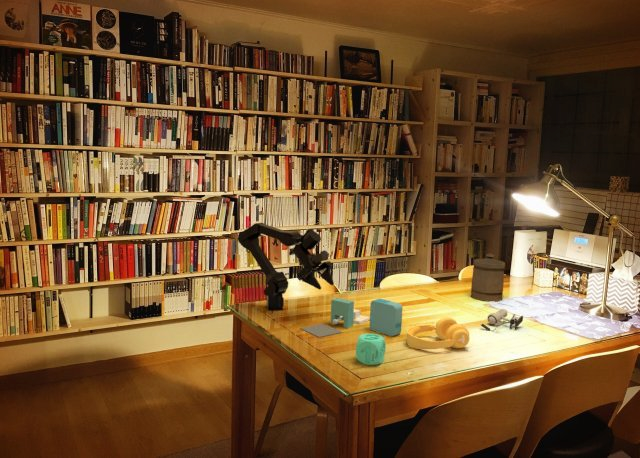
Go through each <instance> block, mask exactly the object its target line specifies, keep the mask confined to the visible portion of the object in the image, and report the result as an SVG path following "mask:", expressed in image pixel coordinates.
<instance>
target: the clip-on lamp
mask: <svg viewBox="0 0 640 458" xmlns="http://www.w3.org/2000/svg"><path fill="white" fill-rule="evenodd" d="M506 317H507V318H506ZM523 321H524V315H521V316H518V317H517V316H516V314H515V313H513V315H512V317H511V318H508V311H507V309H504V308H501V309H499V310H498V311H496V312H492V313H490V314H488V316H487V322H488V323H489V324H490V325H491V326H495V327H499V326H501V325H503V323H505V324H509V330H511V329H512V327H513V325H514V331H516V330H517V329H518V327H519V326H520V324H521V323H523ZM479 325H480V326H481V327H482V328H484V329H485V330H486V331H488V332H494V331H495V329H493V330H492V329H491V328H490V327H489V326H487V325H486V324H484V323H481V322H480V323H479Z"/></svg>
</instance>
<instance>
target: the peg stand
mask: <svg viewBox="0 0 640 458" xmlns="http://www.w3.org/2000/svg"><path fill="white" fill-rule="evenodd" d="M361 312H362V310H361V309H356V308H354V313H353V324H358V325H361V324H363V323H366V322H368V321H370V316H367V315H362V314H361ZM342 321H344V317H342V316H340V318H339V319H334V320H333V324H336V325H338V324H339V323H338V322H340V323H341V322H342ZM337 323H338V324H337Z"/></svg>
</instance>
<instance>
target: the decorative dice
mask: <svg viewBox="0 0 640 458" xmlns="http://www.w3.org/2000/svg"><path fill="white" fill-rule="evenodd" d="M386 347H387V345H386V339H385V338H384V337H383V336H382V335H380V334H376V333H363V334H361V335H359V336H358V339H357V341H356V347H355V357H356V359H357V361H359V363H360V364H363V365H366V366H367V365H368V366H376V365H377V366H378V365H380V364H382V363H383V362H384V358H385V355H386Z"/></svg>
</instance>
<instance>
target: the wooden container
mask: <svg viewBox="0 0 640 458" xmlns="http://www.w3.org/2000/svg"><path fill="white" fill-rule="evenodd" d="M485 256H486V258H476V259H474V260H473V267H472V278H471V289H470V297H471V298H472V299H475V300H478V301H482V302H490V301H495V302H500V301H499V300H501V301H503V293H504V281H505V279H504V277H505V268H506V262H505V261H503V260H499V259H494V254H493V253H486V255H485Z"/></svg>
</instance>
